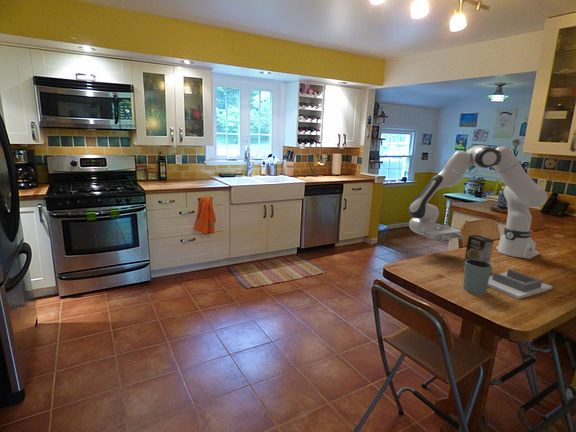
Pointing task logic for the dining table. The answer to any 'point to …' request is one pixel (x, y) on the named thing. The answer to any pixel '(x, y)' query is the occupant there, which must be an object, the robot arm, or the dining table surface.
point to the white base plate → (517, 284)
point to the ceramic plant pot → (476, 276)
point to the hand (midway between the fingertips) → (456, 238)
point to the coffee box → (479, 248)
